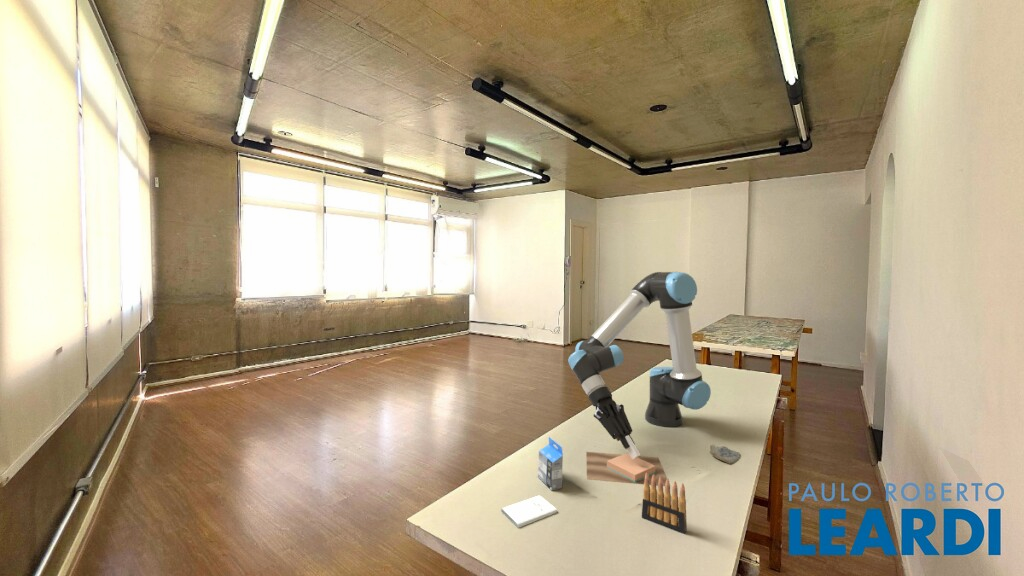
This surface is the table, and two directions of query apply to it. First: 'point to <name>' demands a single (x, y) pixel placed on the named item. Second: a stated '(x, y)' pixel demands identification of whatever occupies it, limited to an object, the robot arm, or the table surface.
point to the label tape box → (551, 465)
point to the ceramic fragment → (725, 454)
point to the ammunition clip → (664, 505)
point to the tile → (631, 467)
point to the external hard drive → (528, 511)
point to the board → (601, 472)
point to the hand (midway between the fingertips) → (636, 456)
